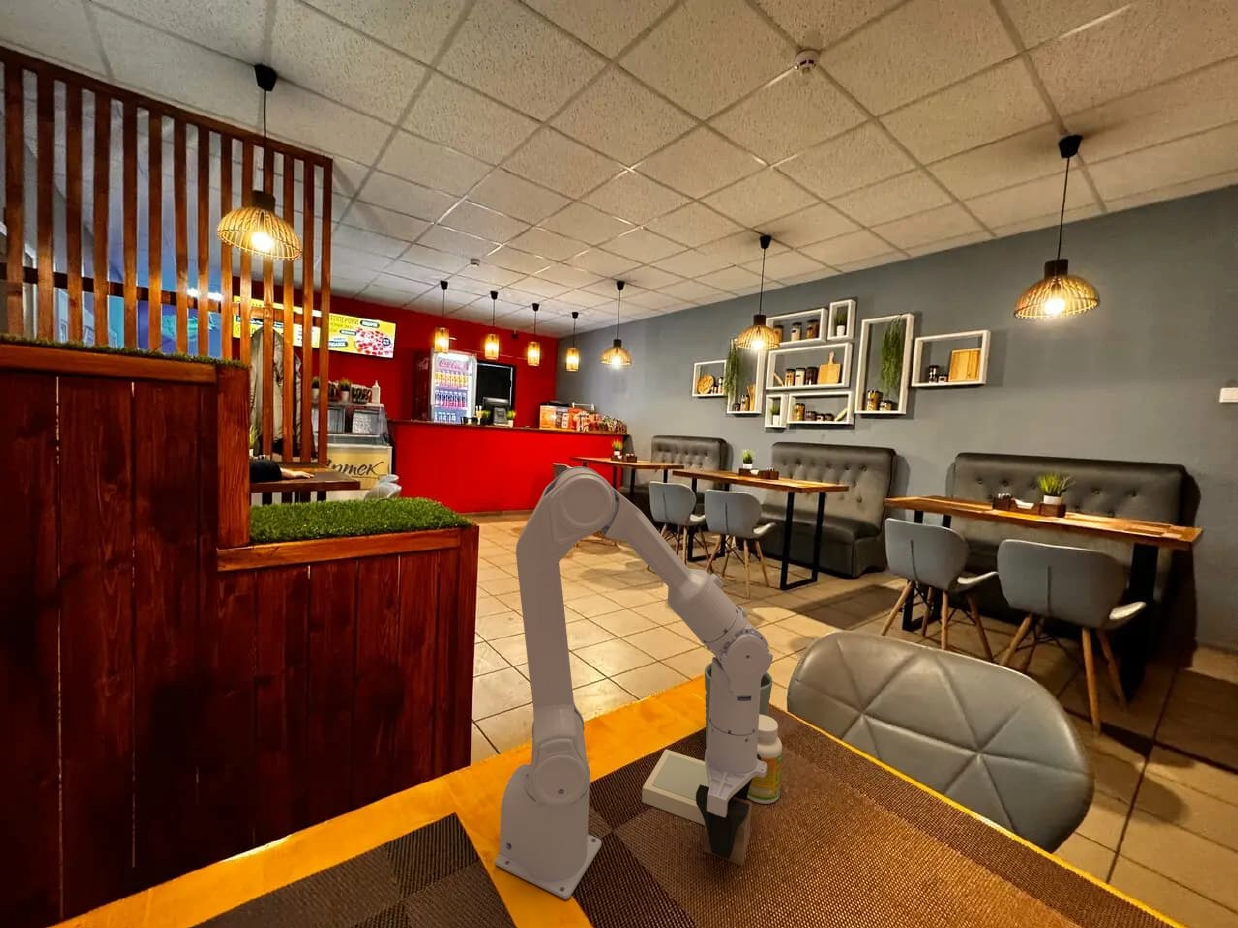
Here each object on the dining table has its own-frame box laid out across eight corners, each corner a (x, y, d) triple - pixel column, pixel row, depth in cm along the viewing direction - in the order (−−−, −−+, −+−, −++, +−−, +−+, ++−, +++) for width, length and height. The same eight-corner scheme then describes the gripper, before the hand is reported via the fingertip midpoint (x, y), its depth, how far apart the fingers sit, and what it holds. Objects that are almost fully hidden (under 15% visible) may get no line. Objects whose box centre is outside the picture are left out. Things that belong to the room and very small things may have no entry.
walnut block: (703, 851, 57) (705, 814, 57) (712, 824, 61) (714, 789, 61) (742, 866, 56) (744, 828, 55) (749, 837, 60) (751, 802, 59)
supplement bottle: (782, 808, 64) (786, 736, 64) (739, 801, 66) (743, 730, 65) (777, 780, 70) (781, 714, 69) (738, 774, 71) (741, 708, 70)
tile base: (642, 801, 65) (642, 786, 65) (664, 762, 73) (665, 748, 73) (709, 826, 61) (710, 810, 61) (725, 781, 69) (726, 767, 69)
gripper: (758, 768, 49) (751, 896, 50) (776, 700, 63) (771, 803, 63) (690, 747, 52) (684, 869, 53) (721, 687, 66) (716, 785, 66)
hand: (727, 832), depth 58 cm, fingers open, 6 cm apart
